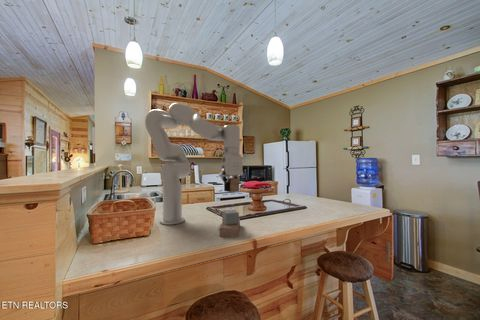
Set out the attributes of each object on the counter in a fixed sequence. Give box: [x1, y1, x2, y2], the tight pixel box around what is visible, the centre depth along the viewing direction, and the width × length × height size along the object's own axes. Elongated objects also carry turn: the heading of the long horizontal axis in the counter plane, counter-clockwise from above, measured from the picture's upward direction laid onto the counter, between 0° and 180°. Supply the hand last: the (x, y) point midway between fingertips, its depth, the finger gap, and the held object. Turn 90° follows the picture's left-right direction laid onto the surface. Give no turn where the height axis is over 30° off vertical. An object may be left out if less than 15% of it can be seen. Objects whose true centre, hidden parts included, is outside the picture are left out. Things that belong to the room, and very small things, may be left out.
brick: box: [218, 218, 241, 238], centre depth 105 cm, size 17×8×5 cm, turn 177°
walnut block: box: [223, 177, 240, 193], centre depth 105 cm, size 5×5×6 cm
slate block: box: [221, 209, 240, 225], centre depth 105 cm, size 6×6×5 cm
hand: (231, 189), depth 106 cm, fingers closed on walnut block, 5 cm apart
